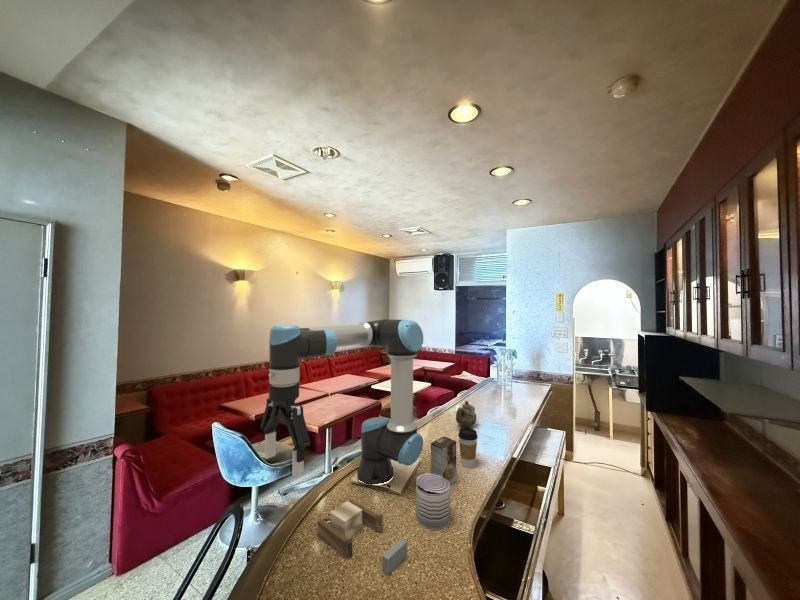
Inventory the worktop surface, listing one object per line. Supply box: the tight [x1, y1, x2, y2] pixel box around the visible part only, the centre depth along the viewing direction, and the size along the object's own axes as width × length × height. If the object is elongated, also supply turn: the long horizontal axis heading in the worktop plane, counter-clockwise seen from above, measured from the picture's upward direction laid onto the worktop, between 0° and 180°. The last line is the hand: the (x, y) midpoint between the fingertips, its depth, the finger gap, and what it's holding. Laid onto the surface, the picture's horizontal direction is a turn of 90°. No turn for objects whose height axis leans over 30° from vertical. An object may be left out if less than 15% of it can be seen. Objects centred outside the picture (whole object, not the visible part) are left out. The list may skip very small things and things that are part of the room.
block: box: [329, 500, 363, 537], centre depth 96 cm, size 7×7×6 cm
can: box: [415, 473, 451, 530], centre depth 102 cm, size 11×11×12 cm
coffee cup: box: [458, 427, 478, 469], centre depth 137 cm, size 8×8×15 cm
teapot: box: [455, 400, 477, 428], centre depth 181 cm, size 21×12×15 cm, turn 144°
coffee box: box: [430, 436, 457, 486], centre depth 123 cm, size 9×6×16 cm
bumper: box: [381, 537, 408, 576], centre depth 84 cm, size 8×2×4 cm, turn 141°
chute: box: [317, 499, 384, 560], centre depth 95 cm, size 14×14×5 cm
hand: (283, 465), depth 81 cm, fingers open, 13 cm apart
